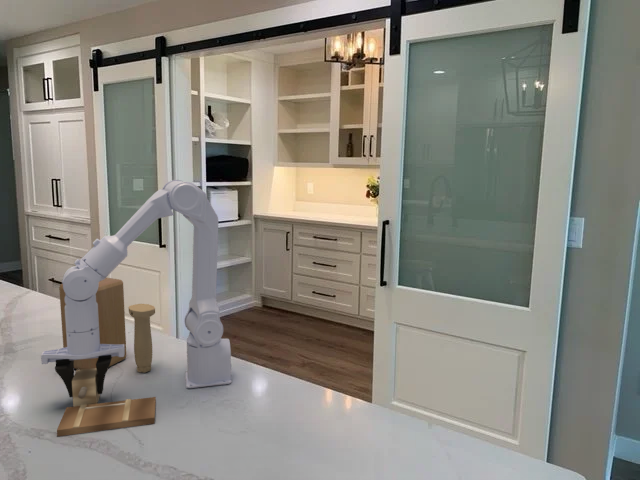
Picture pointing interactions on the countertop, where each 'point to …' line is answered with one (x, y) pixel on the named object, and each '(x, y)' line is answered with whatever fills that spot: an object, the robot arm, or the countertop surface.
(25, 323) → the countertop surface
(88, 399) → the pale wood holed block
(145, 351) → the handle
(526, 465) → the countertop surface
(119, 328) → the wooden block
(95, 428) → the walnut board
